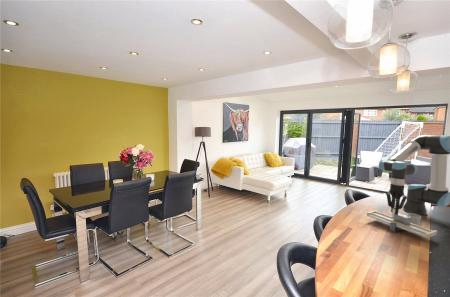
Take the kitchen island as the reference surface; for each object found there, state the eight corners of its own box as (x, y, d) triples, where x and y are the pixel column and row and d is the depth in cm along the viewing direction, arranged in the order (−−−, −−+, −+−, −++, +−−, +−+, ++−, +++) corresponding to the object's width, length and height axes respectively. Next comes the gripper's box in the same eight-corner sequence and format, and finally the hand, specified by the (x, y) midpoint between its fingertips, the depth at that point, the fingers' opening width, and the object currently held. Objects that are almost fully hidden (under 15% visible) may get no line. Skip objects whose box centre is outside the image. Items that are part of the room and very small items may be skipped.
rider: (396, 220, 155) (397, 212, 155) (410, 225, 148) (411, 217, 148) (393, 221, 154) (394, 213, 153) (406, 226, 147) (407, 218, 146)
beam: (376, 212, 171) (376, 210, 171) (436, 234, 139) (437, 230, 139) (366, 215, 166) (366, 212, 165) (427, 238, 134) (428, 234, 134)
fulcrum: (401, 226, 158) (402, 218, 157) (406, 228, 155) (407, 220, 154) (389, 230, 151) (390, 222, 150) (394, 232, 148) (395, 224, 148)
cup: (417, 230, 152) (419, 218, 151) (400, 225, 160) (401, 213, 159) (421, 228, 156) (422, 215, 155) (403, 222, 164) (404, 211, 163)
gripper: (383, 182, 157) (380, 215, 159) (405, 187, 145) (402, 222, 147) (389, 181, 160) (386, 213, 162) (411, 186, 149) (407, 220, 151)
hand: (394, 217), depth 155 cm, fingers closed
